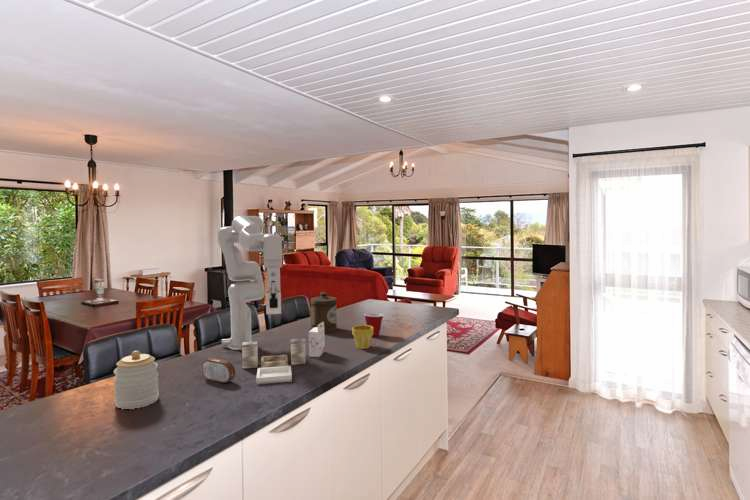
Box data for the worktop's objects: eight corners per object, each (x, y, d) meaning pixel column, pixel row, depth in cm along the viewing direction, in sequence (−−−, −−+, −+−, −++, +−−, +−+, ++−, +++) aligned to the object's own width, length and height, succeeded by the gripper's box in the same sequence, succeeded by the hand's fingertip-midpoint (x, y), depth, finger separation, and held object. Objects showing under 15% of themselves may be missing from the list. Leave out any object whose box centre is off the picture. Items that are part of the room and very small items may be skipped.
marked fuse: (266, 314, 173) (265, 290, 173) (266, 312, 177) (266, 289, 176) (281, 313, 175) (280, 290, 174) (281, 311, 178) (280, 288, 178)
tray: (256, 384, 156) (256, 378, 155) (257, 374, 166) (257, 368, 166) (291, 381, 159) (291, 375, 158) (290, 371, 169) (290, 365, 169)
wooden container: (335, 333, 229) (334, 293, 228) (308, 333, 229) (308, 293, 228) (337, 326, 244) (337, 289, 243) (312, 326, 244) (312, 289, 243)
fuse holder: (242, 370, 171) (241, 346, 170) (243, 363, 179) (243, 340, 179) (305, 365, 177) (305, 342, 176) (304, 358, 185) (304, 336, 185)
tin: (236, 382, 158) (235, 360, 157) (230, 385, 155) (229, 363, 154) (207, 376, 164) (206, 355, 164) (200, 379, 161) (200, 358, 161)
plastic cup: (387, 334, 226) (387, 313, 225) (377, 339, 216) (377, 316, 216) (370, 332, 231) (370, 310, 231) (359, 336, 222) (359, 314, 222)
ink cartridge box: (314, 351, 197) (314, 320, 196) (324, 351, 196) (324, 321, 195) (308, 356, 188) (308, 324, 187) (318, 357, 187) (318, 325, 186)
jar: (127, 414, 131) (125, 359, 130) (107, 404, 138) (105, 352, 137) (167, 399, 142) (165, 348, 141) (146, 391, 149) (144, 343, 148)
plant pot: (364, 351, 196) (364, 331, 195) (347, 347, 202) (347, 327, 202) (377, 346, 204) (377, 326, 204) (361, 342, 210) (361, 323, 210)
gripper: (282, 265, 167) (283, 310, 168) (281, 261, 184) (282, 302, 185) (263, 265, 166) (264, 311, 167) (264, 262, 182) (265, 303, 183)
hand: (273, 306), depth 176 cm, fingers closed on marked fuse, 4 cm apart
